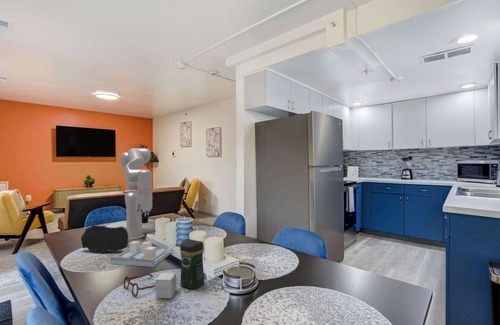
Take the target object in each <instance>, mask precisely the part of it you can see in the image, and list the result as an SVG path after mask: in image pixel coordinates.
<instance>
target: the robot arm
mask: <svg viewBox="0 0 500 325" xmlns="http://www.w3.org/2000/svg"><path fill="white" fill-rule="evenodd" d="M151 157H152V153H151V150H150V149H149V148H147V147H132V148H129V149H128V151H126V152H122V153H121V154H120V155H119V161H120V165H121V167H122V170H123V172H124V180H125V187H126V189H127V190H128V192H126V193H125V195H124V202H125V207H126V208H125V209H126V230H127V231H128V241H131V240H133V241H134V240H139V239H141V238H144V237H145V233H143V232H145V231H146V228H145V227H143V224H148V223H149V214H150V212H151V211H152V209H153V192H152V191H153V190H152V189H153V188H152V187H153V186H152V185H153V179H152V178H153V176H152V175H153V174H152V171H151V170H150V169H148V168H143V167H144V165H145V164H147V163H148V162H149V161H150V160H151Z"/></svg>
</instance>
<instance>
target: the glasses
mask: <svg viewBox="0 0 500 325" xmlns="http://www.w3.org/2000/svg"><path fill="white" fill-rule="evenodd" d="M146 276H149V277H151V278H153V277H154V275H153V274H150V273H145V274H142V275H138V276H132V277H129V276H125V277H124V279H123V289H125V290H128V289H129V287H130V285H131V286H132V287H131V294H132V297H134V298H135V297H137V296H138V294H139V291H141V290H147V289H152V288H153V289H154V288H156V283H155V284H154V285H150V286H144V287H139V285H138V283H136V282H135V283H133V282H132V281H130V280H134V279H140V278H143V277H146ZM126 281H127V286H126ZM135 286H136V293H134V292H135V291H134V287H135Z"/></svg>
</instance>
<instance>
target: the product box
mask: <svg viewBox="0 0 500 325" xmlns="http://www.w3.org/2000/svg"><path fill="white" fill-rule="evenodd" d="M155 284H156V286H155V299H156V298H171V299H172V298H173V297H174V295H175V293H176V291H177V273H176V272H161V273H160V274H159V275H158V276H157V277H156V279H155Z"/></svg>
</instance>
